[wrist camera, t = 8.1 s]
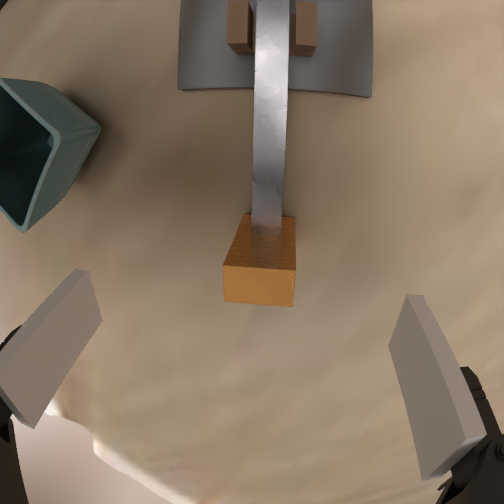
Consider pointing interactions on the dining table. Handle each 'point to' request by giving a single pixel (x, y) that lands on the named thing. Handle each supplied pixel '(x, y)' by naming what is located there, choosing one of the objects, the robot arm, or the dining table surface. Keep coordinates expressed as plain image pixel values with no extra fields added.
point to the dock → (300, 45)
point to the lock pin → (266, 177)
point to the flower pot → (39, 148)
